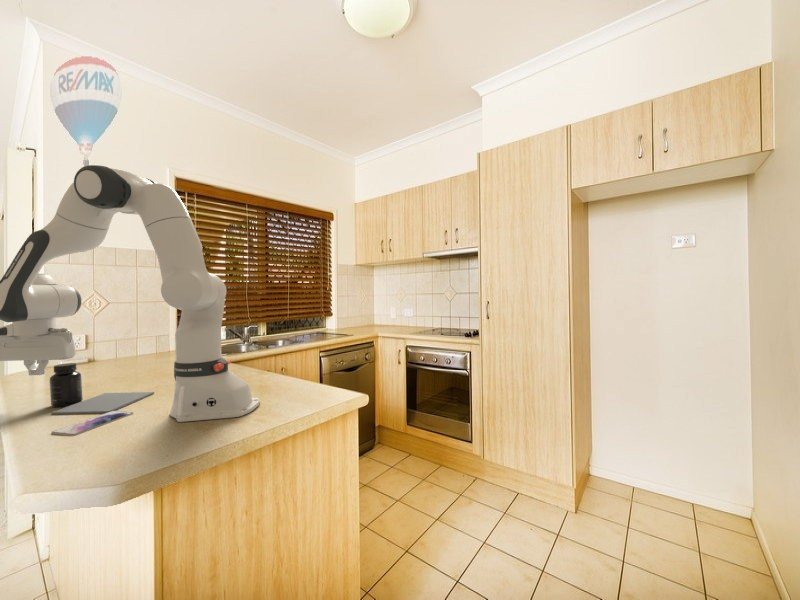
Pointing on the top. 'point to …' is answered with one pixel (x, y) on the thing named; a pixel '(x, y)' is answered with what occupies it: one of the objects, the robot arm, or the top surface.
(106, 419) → the smartphone
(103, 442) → the top surface
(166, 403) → the top surface
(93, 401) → the rubber mat
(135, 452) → the top surface
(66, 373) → the supplement bottle
